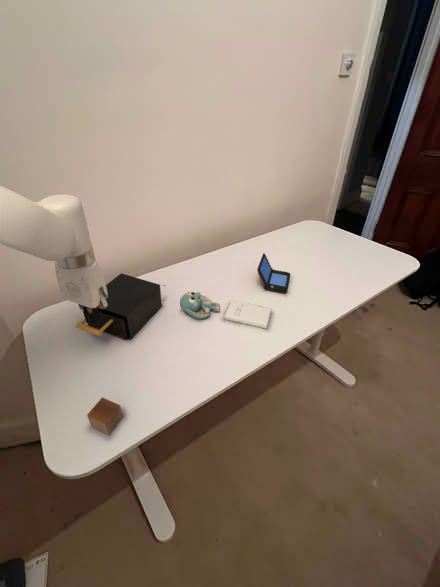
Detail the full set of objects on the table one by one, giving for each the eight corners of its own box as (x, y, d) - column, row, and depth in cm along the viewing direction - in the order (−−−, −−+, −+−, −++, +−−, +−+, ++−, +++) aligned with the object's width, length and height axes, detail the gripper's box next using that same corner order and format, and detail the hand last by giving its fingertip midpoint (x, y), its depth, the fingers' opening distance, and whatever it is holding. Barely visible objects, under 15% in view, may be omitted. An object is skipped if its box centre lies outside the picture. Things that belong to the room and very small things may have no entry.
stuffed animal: (223, 308, 84) (180, 301, 82) (217, 326, 88) (176, 320, 86) (222, 285, 93) (183, 278, 91) (217, 303, 97) (179, 297, 95)
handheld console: (286, 295, 99) (290, 276, 95) (254, 288, 102) (256, 269, 97) (290, 275, 109) (294, 257, 105) (261, 269, 111) (263, 251, 107)
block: (109, 436, 60) (105, 423, 57) (91, 427, 61) (86, 415, 58) (123, 417, 63) (120, 404, 60) (106, 409, 64) (102, 396, 62)
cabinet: (131, 339, 81) (126, 316, 76) (90, 324, 85) (83, 302, 80) (162, 306, 92) (160, 284, 87) (125, 294, 96) (121, 273, 91)
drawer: (111, 354, 75) (106, 336, 71) (72, 339, 79) (66, 321, 75) (156, 307, 90) (154, 290, 86) (121, 296, 94) (118, 279, 90)
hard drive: (266, 329, 86) (224, 319, 88) (270, 311, 92) (231, 303, 95) (267, 325, 85) (224, 315, 87) (271, 307, 91) (231, 299, 94)
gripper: (33, 256, 63) (58, 321, 74) (90, 273, 59) (108, 340, 70) (61, 241, 69) (80, 303, 80) (115, 256, 64) (128, 320, 76)
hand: (93, 320), depth 75 cm, fingers closed
